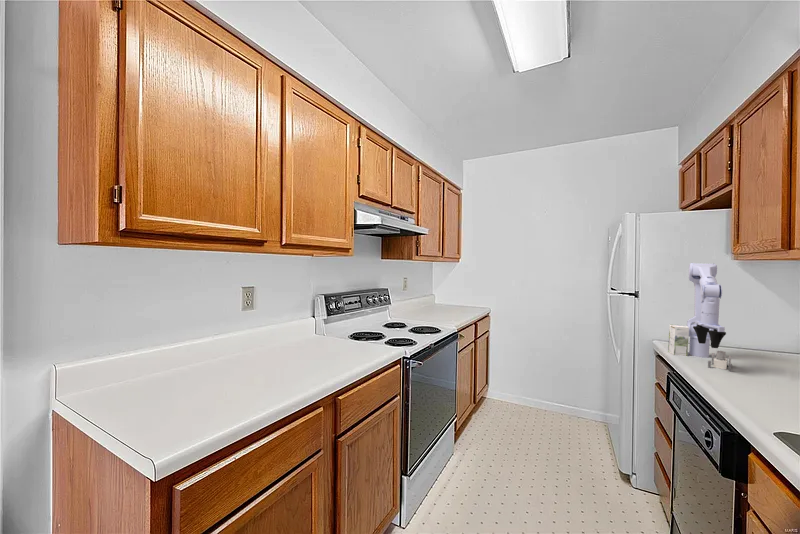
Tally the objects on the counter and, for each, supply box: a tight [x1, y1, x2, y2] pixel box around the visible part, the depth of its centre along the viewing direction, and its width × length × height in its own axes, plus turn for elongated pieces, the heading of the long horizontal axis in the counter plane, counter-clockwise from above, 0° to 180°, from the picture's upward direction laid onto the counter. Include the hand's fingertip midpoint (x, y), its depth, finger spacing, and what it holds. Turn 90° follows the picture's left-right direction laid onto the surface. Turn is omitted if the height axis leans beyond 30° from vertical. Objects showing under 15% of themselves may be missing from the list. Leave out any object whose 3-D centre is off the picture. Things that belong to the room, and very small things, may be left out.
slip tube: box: [712, 350, 729, 370], centre depth 155 cm, size 8×4×6 cm, turn 136°
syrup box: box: [667, 323, 690, 357], centre depth 174 cm, size 6×6×14 cm
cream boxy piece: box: [711, 353, 732, 368], centre depth 157 cm, size 3×6×4 cm, turn 46°
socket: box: [707, 360, 733, 372], centre depth 151 cm, size 2×7×3 cm, turn 46°
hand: (708, 345), depth 154 cm, fingers open, 7 cm apart
